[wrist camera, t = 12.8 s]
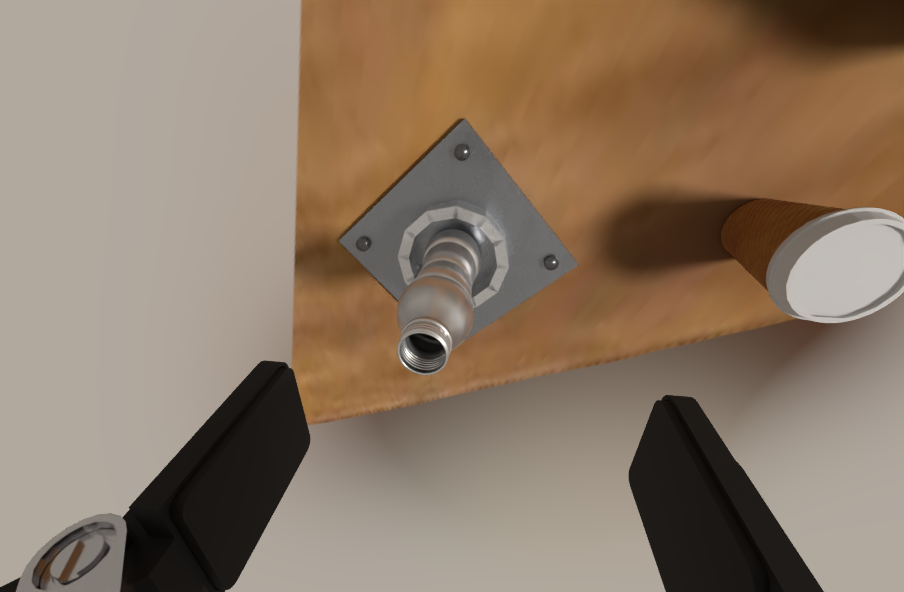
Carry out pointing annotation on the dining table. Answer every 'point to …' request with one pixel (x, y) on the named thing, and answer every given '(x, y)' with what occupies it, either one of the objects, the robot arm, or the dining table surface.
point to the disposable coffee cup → (819, 256)
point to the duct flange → (462, 227)
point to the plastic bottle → (438, 303)
